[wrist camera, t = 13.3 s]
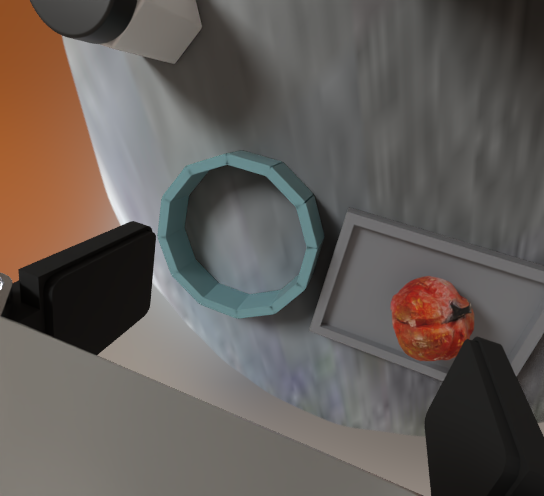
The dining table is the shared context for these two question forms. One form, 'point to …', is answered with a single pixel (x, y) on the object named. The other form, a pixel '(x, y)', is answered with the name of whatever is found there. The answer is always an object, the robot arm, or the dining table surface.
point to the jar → (126, 24)
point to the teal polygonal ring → (195, 274)
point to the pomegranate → (431, 319)
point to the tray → (419, 263)
